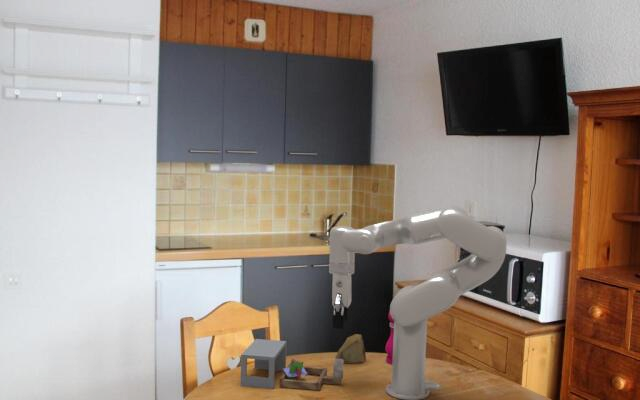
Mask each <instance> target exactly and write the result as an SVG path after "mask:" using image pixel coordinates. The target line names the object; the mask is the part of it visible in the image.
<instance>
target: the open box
mask: <svg viewBox="0 0 640 400" xmlns="http://www.w3.org/2000/svg"><path fill="white" fill-rule="evenodd" d="M240 358H241V359H240V387H247V388H260V389H269V390H270V389H271V390H274V389H275V371H277V372H278V371H279V372H284V370H283V368H284V367H285V368H287V340H277V339H276V340H275V339H262V338H255V339H254V341H253V342H252V343H250V344H249V345H248V347H247V348H245V350H244V351H243V352H242V353H241V355H240ZM248 360H254V369H255V370H264V371H266V370H267V371H268V376H267V377H266V376H257V375H248V373H247V371H248V369H247V368H248Z"/></svg>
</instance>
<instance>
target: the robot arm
mask: <svg viewBox="0 0 640 400" xmlns="http://www.w3.org/2000/svg"><path fill="white" fill-rule="evenodd" d="M329 233H330V234H329V264H328V265H329V267H328V272H329V274H331V275H332V286H331V287H332V290H331V291H332V292H331V295H332V296H331V298H332V299H331V300H332V302H331V304H332V307H333V315H332V329H339V330H343V329H344V327H345V321H348V317H349V314H348V313H349V307H350V306H351V304H352V275H354V274H355V259H356V258H355V257H356V256H355V255H356V253H357V254H361V255H370V254H372V253H374V252H375V251H377V250H378V249H382V248H387V247H390V246H396V245H403V244H409V245H420V244H425V243H426V244H427V243H429V242H434V241H439V240H445V239H446V240H448V241H450V243H452V244H454V245H456V246H457V247H460V248H462V249H463V250H464V251H466V252H468V253H470V254H469V256H467V257H465V258H463V259H461V260H460V261H458V262H456V263H455V264H452V265H450V266H448V267H446V268H444V269H442V270H438V271H437V272H434V273H433V274H432V275H431V276H430V277H429V278H428V279H427V280H425V281H423V282H422V283H420V284H418V285H407V286H404V287H402V288H401V289H400V290H398V292H397V293H396V294H395V296H394V297H393V298H392V301H391V302H390V305H389V312H390V314H391V317H392V319H393V320H394V321H395V322H394V339H393V363H392V364H391V366H392V368H391V383H389V384H387V385H386V386H385V387H386V388H385V392H386V393H387V394H388V395H389V396H391V397H393V398H395V399H400V400H423V399H426V398H428V397H429V396H430V390H432V391H440V390H441V384H440V383H437V382H436V381H432V380H430V381H429V380H428V379H426V378H427V376H426V355H427V353H426V352H427V333H428V320H429V319H432V318H433V317H435V316H437V315H440V314H441V313H442V312H445V311H447V310H449V309H450V308H452V307H453V306H454V305H455V303H457V302H458V299H459V297H460V296H463V295H464V294H465V293H467V292H470V291H471V290H473V289H476V288H477V287H479V286H481V285H482V284H484V283H486V282H487V281H489V280H490V279H492V278H493V277H494V276H495V275H496V274H497V273H498V272H499V271H500V269H501V267H502V265H503V263H504V262H505V258H506V255H507V254H506V253H507V245H508V243H507V237H506V234H505V233H504V231H503V230H502V229H501V228H499V227H496V226H493V225H491V226H486V225H485V224H483V223H480V222H479V221H477V220H476V219H474V218H472V217H470V216H469V215H468V213H467V211H466V210H465V209H464V208H462V207H459V206H448V207H443V208H439V209H435V210H430V211H427V212H421V213H417V214H416V213H415V214H410V215H407V216H404V217H402V218H401V217H400V218H397V219H393V220H388V221H383V222H379V223H378V222H377V223H374V224H370V225H367V226H364V227H363V228H358V229H355V228H353V227H351V226H344V225H342V226H341V225H337V226H334V227H332V228H331V229H330V232H329Z"/></svg>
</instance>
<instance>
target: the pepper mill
mask: <svg viewBox="0 0 640 400" xmlns="http://www.w3.org/2000/svg"><path fill="white" fill-rule="evenodd" d="M388 320H389V321H390V322H389V327H390V335H389V338H388V340H387V341H386V344H385V350H384V351H385V352H386V358H385V359H386V361H385V362H386V363H387V364H389V365H392V363H393V339H394V322H395V321H394V320H393V319H392V317H391V314H390V311H389V312H388Z"/></svg>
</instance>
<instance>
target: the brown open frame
mask: <svg viewBox="0 0 640 400" xmlns="http://www.w3.org/2000/svg"><path fill="white" fill-rule="evenodd" d="M344 364H345V363H344V360H343V359H335V358H334V359H333V369H332V370H333V371H332V375H333V376H329V375H327V374H328V368H326V367H317V366H314V367H313V366H305V365H303V368H304V369H305V371H306V372H307V374H308V375H314V376H315V375H316V376H319V377H318V378H317V381H309V380H308V381H307V380H300V381H299V380H287V379H288V376H287V375H286V373H285V372H284V371H283V373H282V374H281V376H280V377H279V387H281V388H293V389H302V390H315V391H320V390H321V387H322V386H323V384H328V385H341V384H342V383H343V381H342V380H343V379H344ZM305 367H306V368H305ZM286 368H290V365H289V364H288V365H287V366H286Z"/></svg>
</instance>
